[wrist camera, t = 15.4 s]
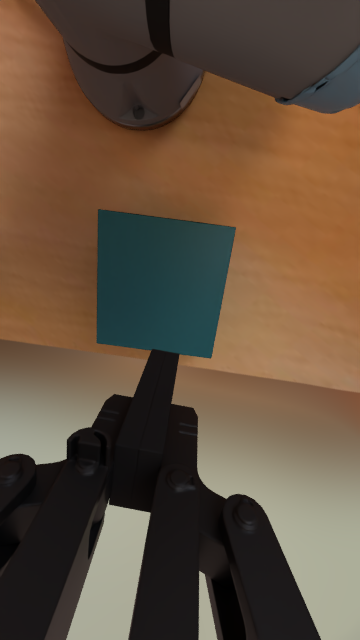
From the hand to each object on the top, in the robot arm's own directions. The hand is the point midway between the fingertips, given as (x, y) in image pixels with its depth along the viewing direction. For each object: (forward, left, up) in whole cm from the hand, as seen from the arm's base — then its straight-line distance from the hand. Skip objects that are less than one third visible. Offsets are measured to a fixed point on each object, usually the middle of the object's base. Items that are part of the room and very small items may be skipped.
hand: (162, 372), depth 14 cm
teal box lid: (-2, -2, -17) cm, 18 cm away
